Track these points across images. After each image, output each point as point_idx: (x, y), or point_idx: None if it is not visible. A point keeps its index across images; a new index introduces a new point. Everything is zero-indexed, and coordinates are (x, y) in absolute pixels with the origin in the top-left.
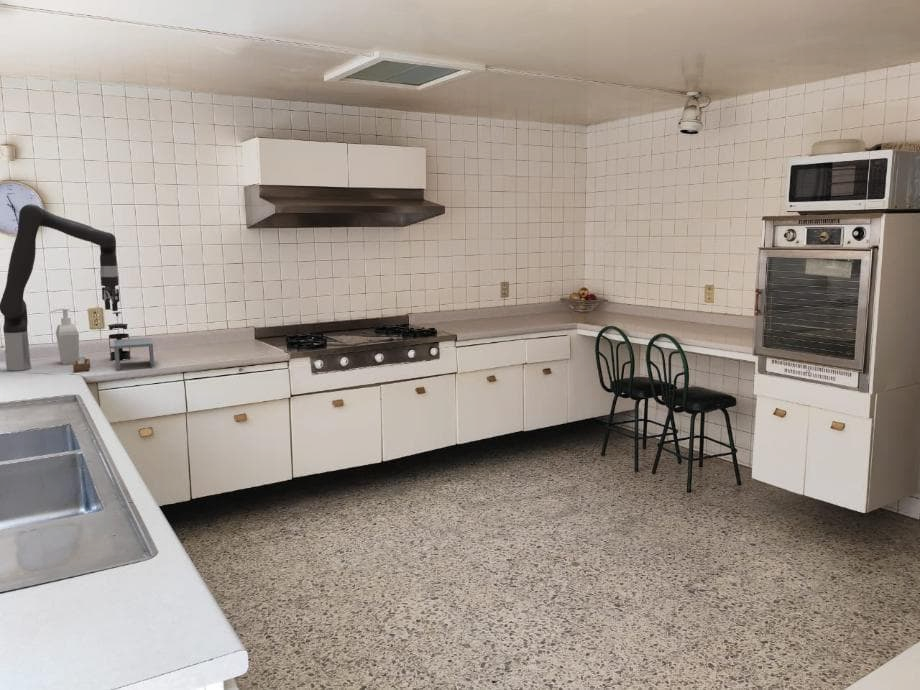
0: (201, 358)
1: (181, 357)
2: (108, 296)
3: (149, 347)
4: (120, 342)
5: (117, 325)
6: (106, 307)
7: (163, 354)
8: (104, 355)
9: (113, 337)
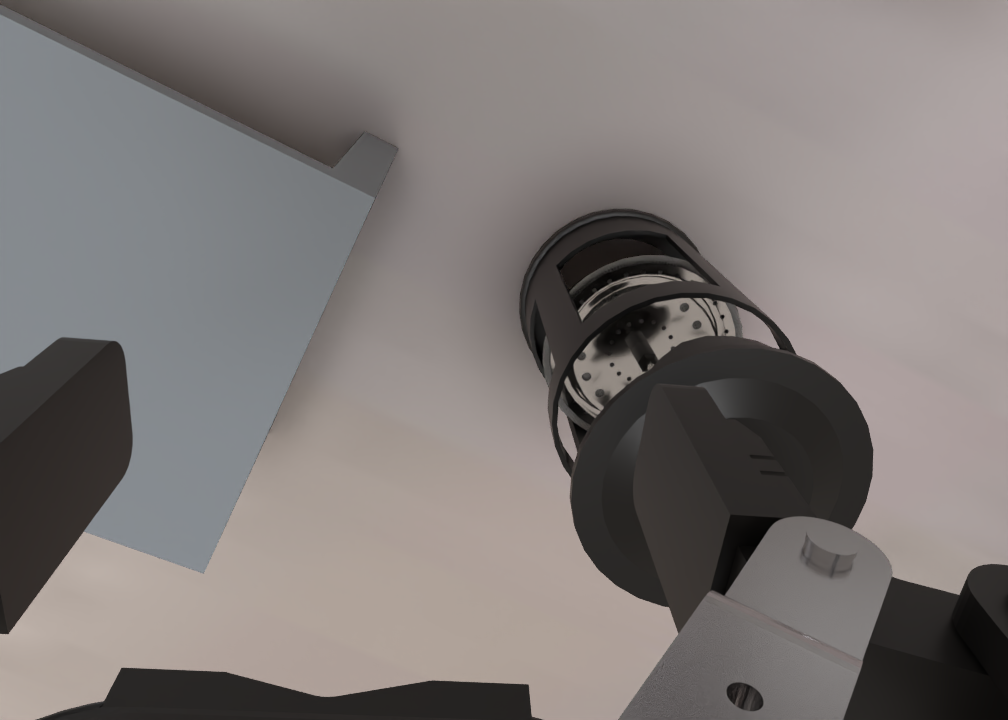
0: (67, 701)
1: (241, 638)
2: (283, 715)
3: None
4: (32, 128)
5: (633, 444)
6: (667, 428)
7: (509, 621)
8: (942, 304)
9: (616, 305)
